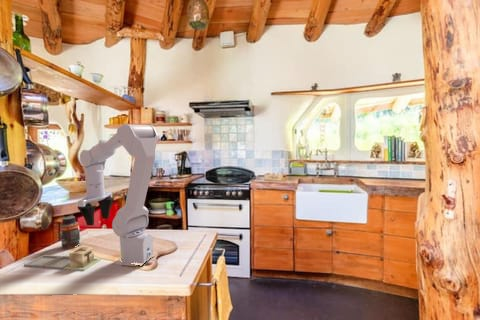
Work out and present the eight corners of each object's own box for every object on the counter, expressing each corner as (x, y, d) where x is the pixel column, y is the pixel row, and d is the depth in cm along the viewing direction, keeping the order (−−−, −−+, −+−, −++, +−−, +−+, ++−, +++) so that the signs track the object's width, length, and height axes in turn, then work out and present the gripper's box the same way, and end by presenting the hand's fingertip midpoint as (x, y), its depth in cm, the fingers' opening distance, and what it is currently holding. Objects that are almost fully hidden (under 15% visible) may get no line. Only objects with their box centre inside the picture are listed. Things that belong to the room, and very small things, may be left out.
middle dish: (80, 259, 90) (80, 257, 90) (63, 270, 83) (63, 267, 83) (62, 258, 91) (62, 256, 91) (44, 268, 84) (43, 265, 84)
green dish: (100, 261, 88) (100, 258, 88) (84, 271, 81) (84, 268, 81) (82, 259, 90) (81, 257, 89) (64, 270, 83) (64, 267, 83)
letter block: (94, 261, 87) (93, 247, 87) (83, 268, 83) (82, 253, 82) (81, 260, 88) (80, 246, 88) (70, 267, 84) (69, 252, 83)
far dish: (61, 258, 91) (61, 256, 91) (42, 268, 84) (42, 265, 84) (44, 257, 93) (43, 254, 92) (24, 267, 86) (23, 264, 86)
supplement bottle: (84, 244, 103) (82, 215, 103) (73, 250, 98) (70, 219, 97) (69, 244, 104) (67, 215, 103) (58, 250, 98) (55, 219, 97)
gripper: (99, 180, 103) (102, 215, 104) (68, 187, 89) (72, 228, 90) (116, 180, 102) (118, 215, 103) (87, 187, 88) (90, 228, 89)
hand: (98, 221), depth 96 cm, fingers open, 7 cm apart
